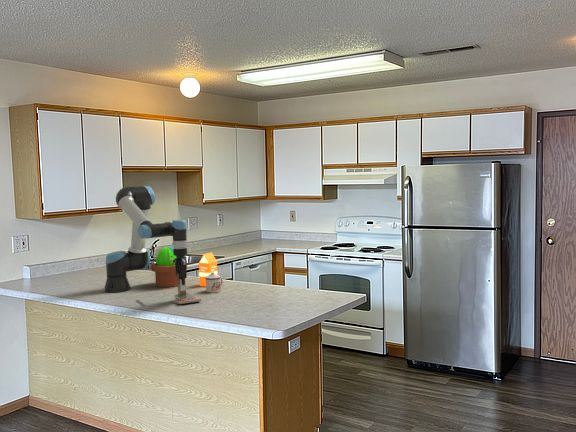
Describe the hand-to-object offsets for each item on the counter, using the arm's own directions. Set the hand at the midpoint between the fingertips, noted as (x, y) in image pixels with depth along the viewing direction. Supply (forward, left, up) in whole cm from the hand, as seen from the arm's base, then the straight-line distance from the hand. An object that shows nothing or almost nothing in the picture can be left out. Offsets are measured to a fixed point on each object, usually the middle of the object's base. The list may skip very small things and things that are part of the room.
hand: (181, 289), depth 304 cm
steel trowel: (+4, 0, -4) cm, 5 cm away
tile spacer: (-4, +1, -6) cm, 8 cm away
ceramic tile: (+6, +1, -4) cm, 8 cm away
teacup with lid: (-11, +25, -6) cm, 28 cm away
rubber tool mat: (-6, -16, -6) cm, 19 cm away
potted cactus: (-47, +9, -6) cm, 49 cm away
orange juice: (-31, +29, -6) cm, 43 cm away
